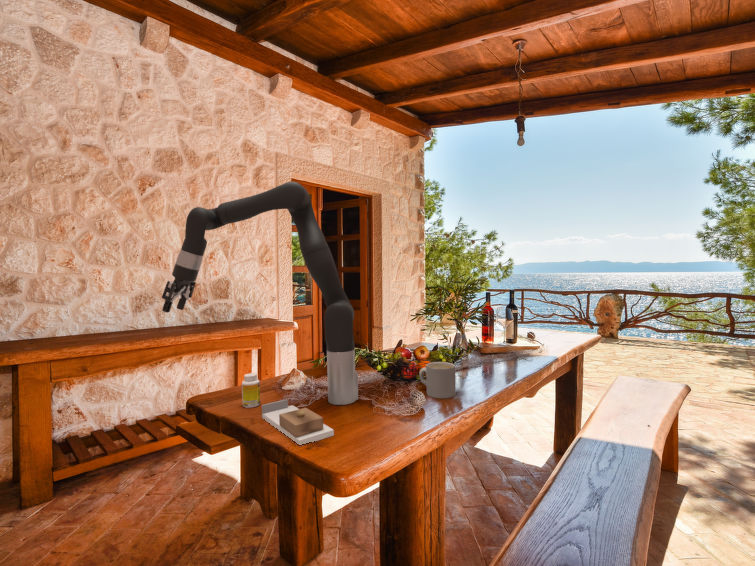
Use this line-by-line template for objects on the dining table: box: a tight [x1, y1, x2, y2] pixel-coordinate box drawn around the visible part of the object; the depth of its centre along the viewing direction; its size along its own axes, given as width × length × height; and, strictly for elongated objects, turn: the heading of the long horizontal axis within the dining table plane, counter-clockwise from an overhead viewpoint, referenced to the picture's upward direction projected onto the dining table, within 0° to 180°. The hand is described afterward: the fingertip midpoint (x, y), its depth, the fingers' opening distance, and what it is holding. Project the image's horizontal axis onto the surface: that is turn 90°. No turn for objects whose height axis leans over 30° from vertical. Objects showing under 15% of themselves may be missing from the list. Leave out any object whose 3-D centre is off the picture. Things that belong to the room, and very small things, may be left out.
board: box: [261, 398, 335, 446], centre depth 111 cm, size 10×25×4 cm, turn 38°
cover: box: [279, 407, 324, 437], centre depth 106 cm, size 8×10×4 cm
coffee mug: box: [418, 361, 457, 399], centre depth 138 cm, size 13×10×10 cm
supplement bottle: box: [241, 372, 261, 409], centre depth 129 cm, size 6×6×10 cm
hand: (172, 310), depth 133 cm, fingers open, 8 cm apart
